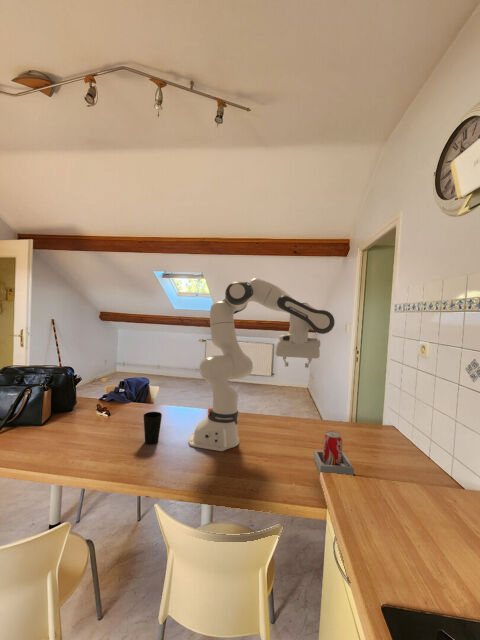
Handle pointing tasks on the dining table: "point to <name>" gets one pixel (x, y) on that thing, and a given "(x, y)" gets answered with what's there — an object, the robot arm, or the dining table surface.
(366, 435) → the dining table surface
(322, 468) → the tray
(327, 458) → the soda can
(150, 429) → the cup
